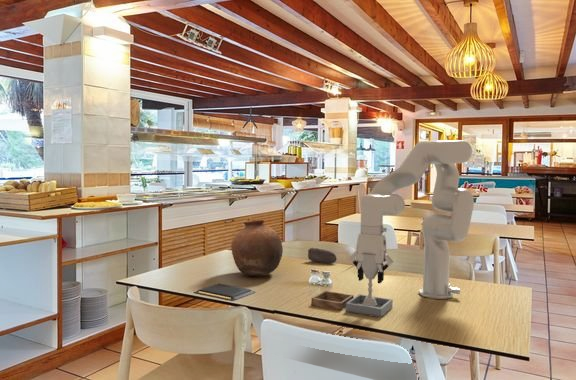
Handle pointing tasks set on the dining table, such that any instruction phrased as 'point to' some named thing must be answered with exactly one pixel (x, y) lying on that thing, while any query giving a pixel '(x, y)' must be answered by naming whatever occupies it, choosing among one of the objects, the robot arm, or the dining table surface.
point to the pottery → (256, 249)
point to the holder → (331, 304)
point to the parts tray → (377, 310)
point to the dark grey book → (225, 292)
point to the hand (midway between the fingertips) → (370, 280)
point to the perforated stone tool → (321, 255)
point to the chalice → (369, 276)
